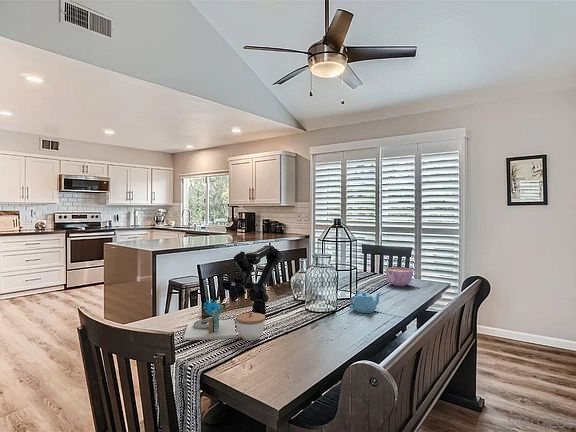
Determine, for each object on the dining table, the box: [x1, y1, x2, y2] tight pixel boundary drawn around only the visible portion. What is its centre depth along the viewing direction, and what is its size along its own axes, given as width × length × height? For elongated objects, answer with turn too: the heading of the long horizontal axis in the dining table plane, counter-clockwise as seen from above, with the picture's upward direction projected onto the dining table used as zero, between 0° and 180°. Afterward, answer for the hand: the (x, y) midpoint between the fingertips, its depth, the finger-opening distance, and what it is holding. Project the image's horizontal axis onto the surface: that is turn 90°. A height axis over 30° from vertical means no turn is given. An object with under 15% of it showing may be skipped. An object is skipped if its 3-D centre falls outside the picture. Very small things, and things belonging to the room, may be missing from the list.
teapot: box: [349, 288, 382, 314], centre depth 198 cm, size 15×15×10 cm
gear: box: [202, 298, 225, 316], centre depth 192 cm, size 11×6×10 cm
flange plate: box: [194, 310, 220, 332], centre depth 166 cm, size 16×10×9 cm, turn 40°
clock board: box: [182, 317, 236, 342], centre depth 165 cm, size 22×22×7 cm
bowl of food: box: [384, 266, 414, 287], centre depth 262 cm, size 20×20×12 cm
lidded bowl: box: [235, 311, 266, 342], centre depth 156 cm, size 13×13×11 cm
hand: (232, 301), depth 171 cm, fingers closed
